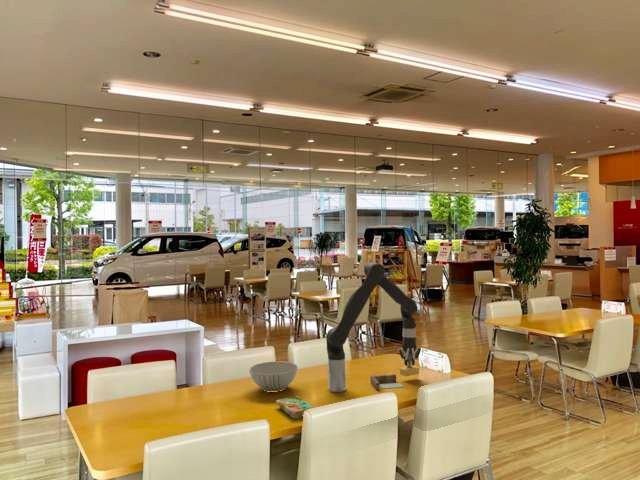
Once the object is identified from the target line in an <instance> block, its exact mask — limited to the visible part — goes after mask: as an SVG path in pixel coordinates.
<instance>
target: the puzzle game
mask: <svg viewBox="0 0 640 480" xmlns="http://www.w3.org/2000/svg"><path fill="white" fill-rule="evenodd" d="M275 403H276V404H277V405H278V406H279V408H280V410H282V411H283V410H284V411H285V412H284V411H283V412H284V413H286V414H287V415H288V414H289V415H290V417H291V418H292V417H293V418H296V419H298V418H297V417H301V418H303V417H302V415H303V413H304V411H305V410H307V409H310V408H315V407H314V406H313V405H312V404H310V403H309V402H307V401H306V400H304V399H302V398H300V396H298V395H295V396H293V397H292V396H291V397H287V398H282V399H281V398H280V399H276V400H275ZM289 415H288V416H289ZM293 418H292V419H293Z"/></svg>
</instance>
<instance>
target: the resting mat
mask: <svg viewBox="0 0 640 480" xmlns="http://www.w3.org/2000/svg"><path fill="white" fill-rule="evenodd" d="M379 388H381V389H382V390H383V389H384V390H385V389H397V388H399V389H400V388H404V385H402V384H401V382H390V383H379Z"/></svg>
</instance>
